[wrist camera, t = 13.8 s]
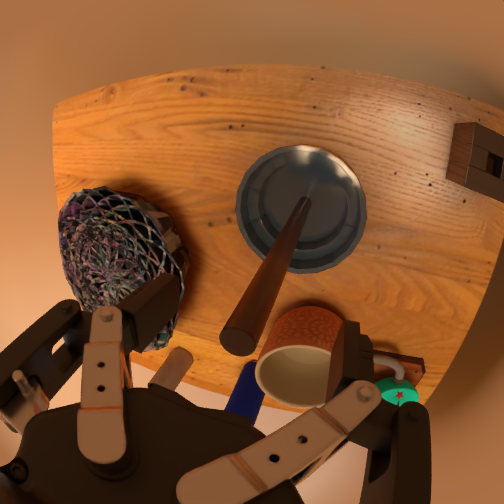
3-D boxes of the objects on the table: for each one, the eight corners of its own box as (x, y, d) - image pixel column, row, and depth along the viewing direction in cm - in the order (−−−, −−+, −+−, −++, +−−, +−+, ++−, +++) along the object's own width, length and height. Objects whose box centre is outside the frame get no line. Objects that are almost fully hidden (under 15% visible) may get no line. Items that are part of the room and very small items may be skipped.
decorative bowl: (219, 189, 40) (186, 199, 30) (204, 345, 49) (180, 380, 40) (92, 172, 45) (51, 179, 36) (98, 303, 54) (67, 324, 45)
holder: (454, 123, 25) (474, 122, 20) (497, 142, 24) (521, 145, 19) (445, 178, 29) (463, 186, 23) (487, 194, 27) (509, 205, 22)
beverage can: (240, 371, 50) (211, 434, 37) (250, 355, 48) (220, 421, 34) (265, 382, 49) (241, 447, 36) (276, 367, 47) (253, 436, 34)
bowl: (257, 136, 34) (243, 136, 28) (371, 158, 31) (379, 161, 25) (245, 240, 40) (230, 258, 34) (347, 263, 37) (348, 285, 31)
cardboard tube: (197, 357, 52) (172, 395, 43) (188, 367, 54) (164, 403, 45) (178, 343, 52) (151, 379, 43) (170, 354, 54) (144, 388, 45)
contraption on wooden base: (339, 329, 41) (334, 408, 27) (437, 349, 37) (457, 420, 24) (315, 386, 47) (301, 456, 33) (401, 401, 43) (406, 467, 30)
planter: (368, 322, 39) (373, 374, 29) (320, 369, 45) (312, 419, 35) (300, 279, 39) (287, 326, 30) (259, 334, 45) (238, 382, 35)
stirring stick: (299, 195, 34) (219, 323, 11) (312, 197, 34) (258, 333, 11) (297, 207, 35) (217, 350, 12) (310, 210, 35) (253, 361, 12)
